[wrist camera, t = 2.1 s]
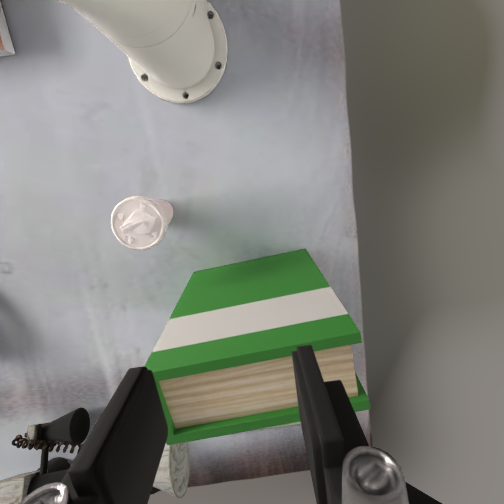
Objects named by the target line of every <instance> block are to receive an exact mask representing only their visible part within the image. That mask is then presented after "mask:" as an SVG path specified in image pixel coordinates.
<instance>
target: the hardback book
mask: <svg viewBox="0 0 504 504" xmlns="http://www.w3.org/2000/svg"><path fill="white" fill-rule="evenodd" d="M357 343H362V342H361V334H360V331H359V330H358V328H357V327H356V325H355V323H354V322H353V320H352V319H351V317H350V316H349V314H348V313H347V311H346V310H345V308H344V307H343V305H342V304H341V302H340V301H339V299H338V298H337V296H336V295H335V293H334V291H333V290H332V288H331V287H330V285H329V284H328V282H327V281H326V279H325V278H324V276H323V275H322V273H321V272H320V270H319V269H318V267H317V266H316V264H315V263H314V261H313V259H312V258H311V256H310V255H309V253H308V252H307V250H306V249H301V250H297V251H292V252H287V253H282V254H278V255H273V256H268V257H263V258H258V259H254V260H249V261H244V262H239V263H235V264H230V265H225V266H220V267H216V268H211V269H206V270H201V271H196V272H194V273H193V275H192V277H191V279H190V280H189V282H188V284H187V286H186V288H185V290H184V292H183V294H182V296H181V298H180V300H179V301H178V303H177V305H176V307H175V309H174V311H173V313H172V315H171V317H170V319H169V321H168V323H167V324H166V326H165V328H164V330H163V332H162V334H161V336H160V338H159V340H158V342H157V344H156V346H155V347H154V349H153V351H152V353H151V355H150V357H149V359H148V361H147V363H146V365H145V367H147V369H148V370H152V372H153V375H154V379H155V382H156V386H157V390H158V393H159V397H160V400H161V404H162V408H163V411H164V415H165V418H166V422H167V425H168V437H167V440H166V444H167V445H172V444H178V443H184V442H189V441H195V440H200V439H206V438H211V437H217V436H223V435H228V434H234V433H239V432H245V431H251V430H256V429H262V428H267V427H273V426H278V425H284V424H290V423H295V422H301V420H300V414H299V407H298V399H297V391H296V384H295V376H294V368H293V360H292V351H297V347H298V346H305V345H312V348H313V351H314V354H315V357H316V360H317V362H318V365H319V368H320V371H321V374H322V377H323V380H324V382H326V381H334V380H341V381H342V383H343V386H344V388H345V390H346V393H347V395H348V397H349V400H350V402H351V405H352V407H353V409H354V412H357V411H362V410H368V409H370V402H369V399H368V397H367V395H366V393H365V391H364V389H363V387H362V385H361V383H360V381H359V379H358V377H357V375H356V373H355V369H354V362H353V355H352V348H351V344H357Z"/></svg>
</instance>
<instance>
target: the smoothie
mask: <svg viewBox="0 0 504 504" xmlns="http://www.w3.org/2000/svg"><path fill="white" fill-rule="evenodd" d="M173 214H174V212H173V208H172V206H171V205H170V203H168V202H167V201H165V200H161V199H149V198H146V197H142V196H134V197H129V198H127V199H125V200H123V201H121V202H120V203H119V204H117V206H116V207H115V208H114V210H113V212H112V216H111V227H112V230H113V233H114V235H115V236H116V238H117V239H118V240H119V241H120V242H121V243H122V244H123V245H125V246H127V247H129V248H131V249H135V250H147V249H150V248H152V247H154V246H156V245H157V244H158V243H160V242H161V241H162V239H163V238H164V236H165V234H166V230H167V226H168V225H169V223H170V221H171V220H172V218H173Z"/></svg>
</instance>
